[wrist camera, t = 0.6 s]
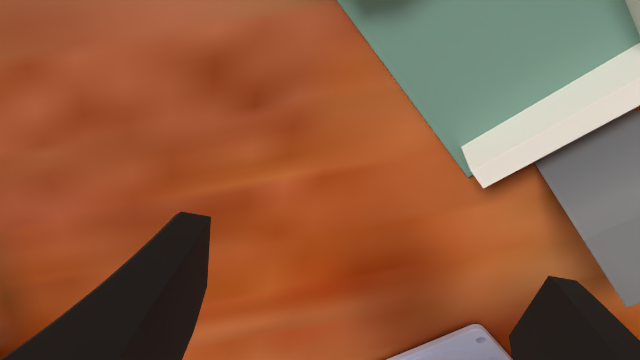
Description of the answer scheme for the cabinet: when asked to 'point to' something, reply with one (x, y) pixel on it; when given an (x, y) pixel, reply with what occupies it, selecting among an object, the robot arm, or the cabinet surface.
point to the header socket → (507, 71)
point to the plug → (604, 197)
